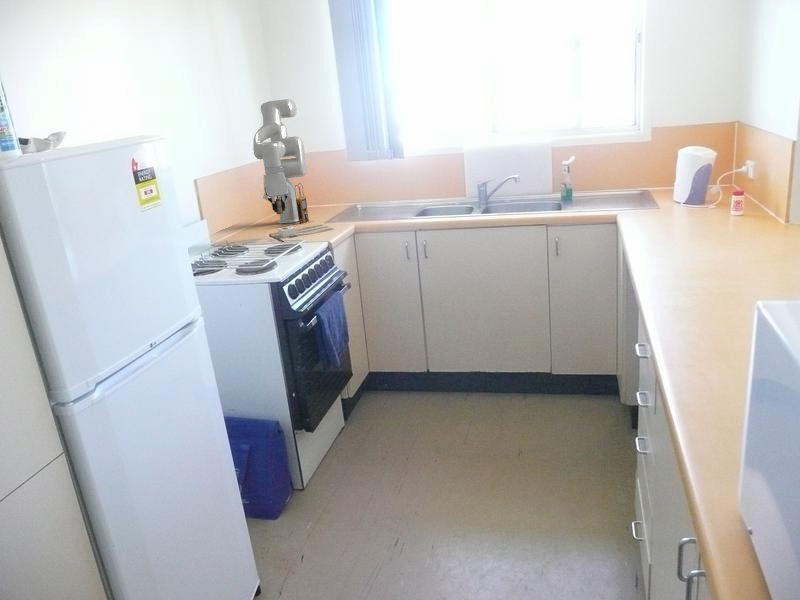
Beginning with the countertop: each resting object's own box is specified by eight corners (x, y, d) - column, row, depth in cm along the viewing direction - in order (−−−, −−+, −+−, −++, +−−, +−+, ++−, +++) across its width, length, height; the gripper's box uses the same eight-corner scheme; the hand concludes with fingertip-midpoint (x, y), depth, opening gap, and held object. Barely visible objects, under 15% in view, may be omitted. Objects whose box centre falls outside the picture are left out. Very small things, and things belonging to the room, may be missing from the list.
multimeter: (315, 225, 323) (310, 184, 317) (296, 227, 326) (290, 186, 320) (325, 219, 337) (320, 180, 331) (306, 221, 339) (301, 181, 333)
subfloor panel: (269, 236, 308) (269, 233, 308) (321, 226, 319) (321, 224, 319) (281, 242, 293) (281, 239, 293) (335, 231, 304) (335, 229, 304)
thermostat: (278, 235, 303) (277, 228, 302) (291, 232, 306) (290, 226, 305) (283, 237, 298) (282, 230, 297) (296, 234, 301) (295, 227, 300)
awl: (275, 213, 306) (272, 190, 303) (281, 212, 308) (278, 189, 305) (277, 214, 304) (274, 191, 301) (283, 213, 305) (280, 190, 302)
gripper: (287, 168, 307) (293, 207, 312) (253, 172, 300) (259, 213, 305) (293, 168, 300) (298, 209, 306) (258, 173, 294) (264, 214, 299)
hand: (279, 210), depth 305 cm, fingers closed on awl, 3 cm apart
